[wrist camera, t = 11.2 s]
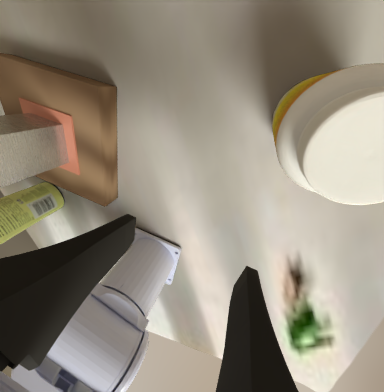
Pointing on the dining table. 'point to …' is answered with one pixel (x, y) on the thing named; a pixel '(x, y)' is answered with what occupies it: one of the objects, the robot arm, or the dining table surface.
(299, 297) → the dining table surface
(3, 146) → the steel column
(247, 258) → the dining table surface
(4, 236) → the tube
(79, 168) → the board
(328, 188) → the supplement bottle
